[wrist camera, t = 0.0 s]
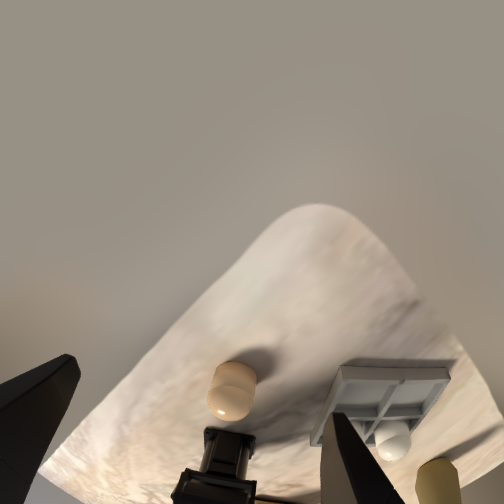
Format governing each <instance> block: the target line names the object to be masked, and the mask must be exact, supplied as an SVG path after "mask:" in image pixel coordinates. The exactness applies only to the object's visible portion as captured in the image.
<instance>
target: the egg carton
mask: <svg viewBox="0 0 504 504" xmlns="http://www.w3.org/2000/svg"><path fill="white" fill-rule="evenodd" d="M450 380H451V377H450V375H449V373H448V371H447V369H446V368H378V367H356V366H341V365H340V367H339V370H338V372H337V375H336V377H335V380H334V382H333V385H332V387H331V389H330V392H329V394H328V397H327V399H326V401H325V403H324V406H323V408H322V410H321V412H320V415H319V417H318V419H317V421H316V423H315V425H314V427H313V429H312V432H311V434H310V446H315V447H322V439H323V428H324V425H325V423H326V421H327V419H328V417H329V415H330V413H331V412H332V411H341V412H344V413H345V414H346V416H347V417H348V419H349V420H350V421H362V425H363V431H364V438H365V445H366V446H367V447H370V446H376V442H375V436H374V431H373V430H374V429H375V427H376V426H377V424H378V423H379V421H380V420H399V419H406V421H407V425H408V428H409V432H410V435H411V434H412V432H413V431H414V430H415V429H416V427H417V426H418V425H419V424H420V422H421V421H422V420H423V419H424V417H425V416H426V415H427V413H428V412H429V411H430V409H431V408H432V406H433V405H434V404H435V402H436V401H437V399H438V398H439V397H440V395H441V394H442V392H443V391H444V389H445V388H446V386H447V385H448V383H449V382H450Z"/></svg>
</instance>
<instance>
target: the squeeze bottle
mask: <svg viewBox="0 0 504 504" xmlns="http://www.w3.org/2000/svg"><path fill="white" fill-rule="evenodd" d="M415 490H416V493H417V496H418V500H419V503H420V504H462V503H461V495H460V486H459V478H458V472H457V469H456V468H455V467H454V466H453V464H452V463H451V462H450V461H449V460H448V458H446V457H442V458H438V459H435V460H433V461H430V462H428V463H426V464H425V465H423V466H422V467H420V468H419V470H418V473H417V479H416V485H415Z"/></svg>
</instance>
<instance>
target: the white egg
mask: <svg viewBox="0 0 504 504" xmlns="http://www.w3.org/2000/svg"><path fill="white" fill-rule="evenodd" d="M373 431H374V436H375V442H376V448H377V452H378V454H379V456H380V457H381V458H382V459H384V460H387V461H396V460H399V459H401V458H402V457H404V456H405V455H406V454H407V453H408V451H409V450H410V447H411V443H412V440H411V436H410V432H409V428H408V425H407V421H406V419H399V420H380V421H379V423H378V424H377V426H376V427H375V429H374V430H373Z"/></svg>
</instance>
